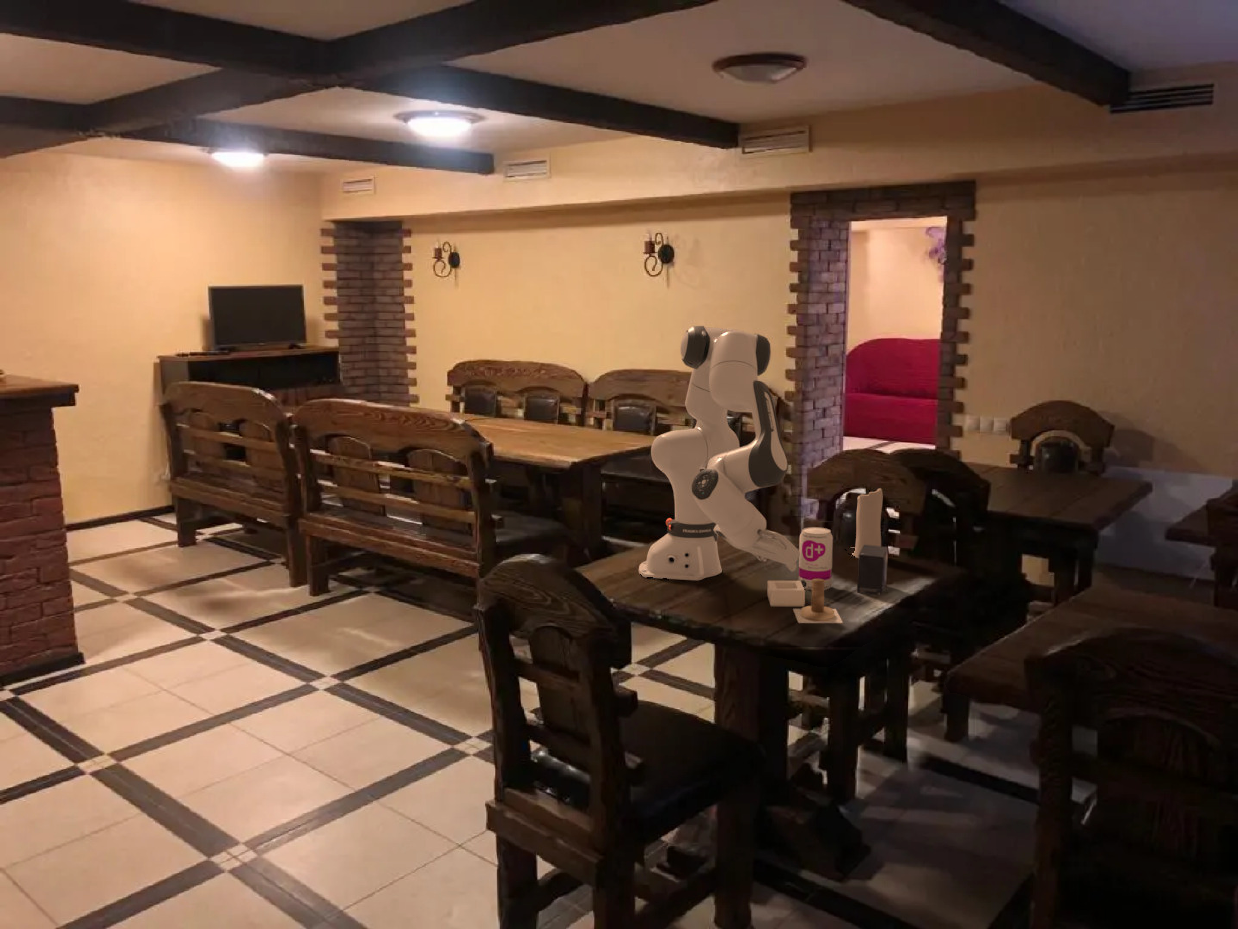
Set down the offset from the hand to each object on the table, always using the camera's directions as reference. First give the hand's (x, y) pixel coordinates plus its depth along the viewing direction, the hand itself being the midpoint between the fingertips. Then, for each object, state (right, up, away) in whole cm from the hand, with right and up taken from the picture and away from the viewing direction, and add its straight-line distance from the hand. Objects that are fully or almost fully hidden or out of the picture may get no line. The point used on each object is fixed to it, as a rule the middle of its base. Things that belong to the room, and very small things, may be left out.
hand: (778, 563), depth 220 cm
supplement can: (+14, -10, +32) cm, 37 cm away
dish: (+5, -12, +20) cm, 24 cm away
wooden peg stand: (+10, -13, +9) cm, 19 cm away
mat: (+10, -14, +9) cm, 19 cm away
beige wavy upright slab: (+34, -4, +64) cm, 73 cm away
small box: (+28, -10, +30) cm, 42 cm away
